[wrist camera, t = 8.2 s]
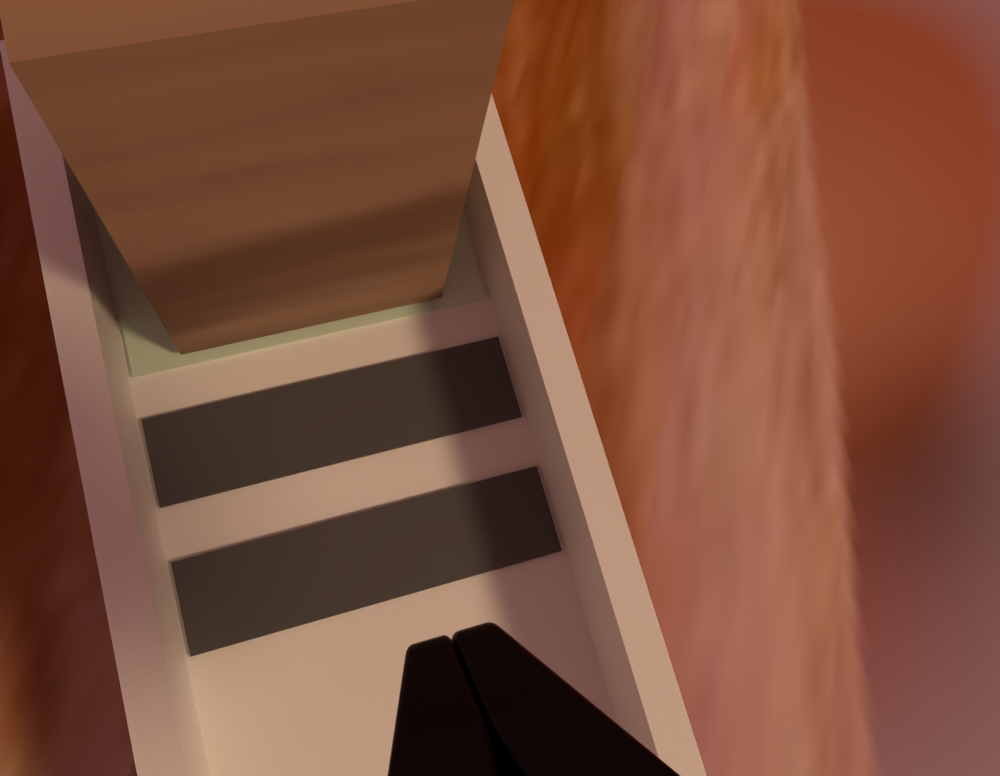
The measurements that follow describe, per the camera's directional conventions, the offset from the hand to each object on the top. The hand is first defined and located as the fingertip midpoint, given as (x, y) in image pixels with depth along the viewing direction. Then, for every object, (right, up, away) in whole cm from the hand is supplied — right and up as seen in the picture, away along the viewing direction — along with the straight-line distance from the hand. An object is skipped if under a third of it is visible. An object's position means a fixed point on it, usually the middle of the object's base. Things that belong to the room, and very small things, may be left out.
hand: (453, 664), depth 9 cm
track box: (-3, 0, +13) cm, 14 cm away
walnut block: (-5, +6, +13) cm, 15 cm away
